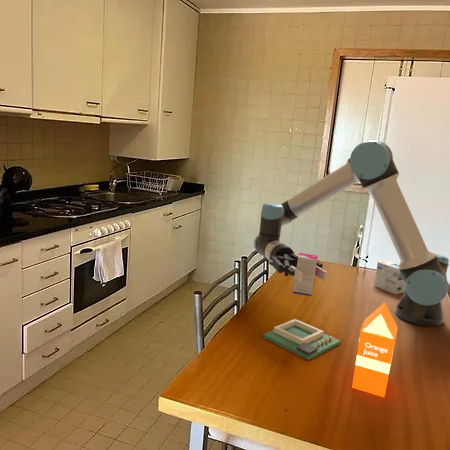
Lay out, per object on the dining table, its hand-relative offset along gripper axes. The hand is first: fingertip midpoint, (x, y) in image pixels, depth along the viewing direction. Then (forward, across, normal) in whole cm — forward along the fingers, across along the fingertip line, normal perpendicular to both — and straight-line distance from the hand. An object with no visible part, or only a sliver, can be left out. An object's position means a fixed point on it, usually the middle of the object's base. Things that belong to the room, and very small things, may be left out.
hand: (313, 276), depth 129 cm
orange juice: (+28, -3, -18) cm, 33 cm away
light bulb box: (-33, -57, -18) cm, 68 cm away
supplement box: (-5, 0, -7) cm, 8 cm away
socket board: (+4, +4, -18) cm, 19 cm away
